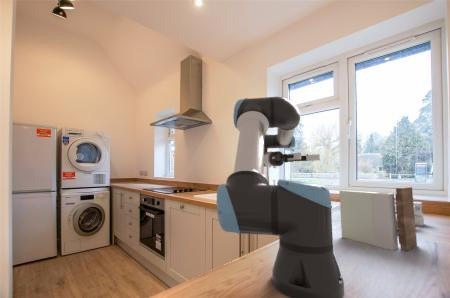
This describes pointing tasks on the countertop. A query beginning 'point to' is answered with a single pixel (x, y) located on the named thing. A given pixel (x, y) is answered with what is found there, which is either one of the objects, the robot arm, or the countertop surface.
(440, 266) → the countertop surface
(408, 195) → the walnut cabinet side
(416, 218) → the light bulb box
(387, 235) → the cream thick square slab
